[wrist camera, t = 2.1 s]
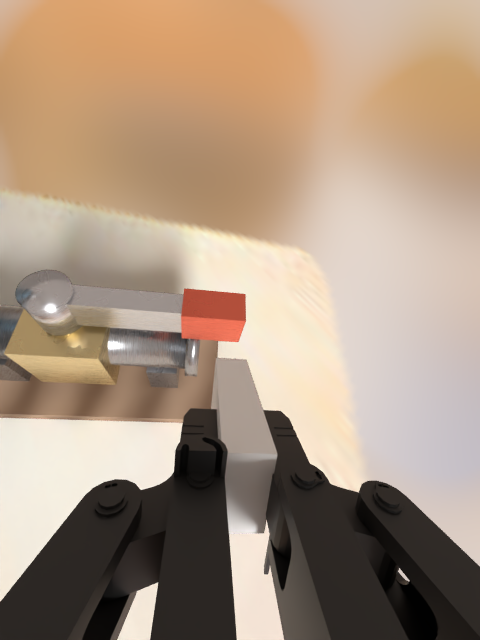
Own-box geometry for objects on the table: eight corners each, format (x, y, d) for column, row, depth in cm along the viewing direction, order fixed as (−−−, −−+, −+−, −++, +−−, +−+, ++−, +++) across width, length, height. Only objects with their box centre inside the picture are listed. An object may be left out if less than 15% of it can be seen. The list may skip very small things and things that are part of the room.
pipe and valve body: (-27, 388, 30) (-117, 346, 21) (0, 329, 34) (-67, 273, 25) (195, 397, 34) (198, 364, 25) (199, 343, 37) (203, 297, 28)
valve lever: (33, 334, 23) (7, 308, 20) (48, 297, 25) (26, 267, 22) (238, 347, 26) (246, 326, 22) (238, 313, 27) (245, 288, 24)
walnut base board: (-52, 416, 30) (-66, 411, 29) (-4, 318, 36) (-13, 310, 35) (213, 423, 34) (214, 420, 33) (217, 334, 40) (218, 327, 39)
